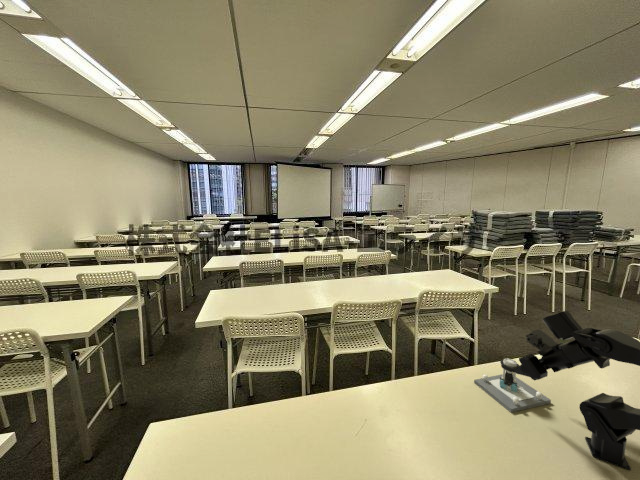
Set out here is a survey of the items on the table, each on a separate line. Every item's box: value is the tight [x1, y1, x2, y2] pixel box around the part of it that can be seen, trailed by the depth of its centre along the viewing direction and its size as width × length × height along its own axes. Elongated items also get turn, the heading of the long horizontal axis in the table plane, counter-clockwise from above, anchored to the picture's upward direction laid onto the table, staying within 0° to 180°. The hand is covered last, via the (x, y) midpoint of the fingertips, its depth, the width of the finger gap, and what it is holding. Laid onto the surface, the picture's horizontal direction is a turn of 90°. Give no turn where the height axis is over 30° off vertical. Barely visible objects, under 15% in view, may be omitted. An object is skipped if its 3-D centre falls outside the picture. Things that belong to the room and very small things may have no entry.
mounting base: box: [473, 370, 552, 413], centre depth 87 cm, size 14×16×3 cm
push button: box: [499, 357, 523, 392], centre depth 86 cm, size 7×5×10 cm
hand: (524, 368), depth 82 cm, fingers open, 9 cm apart
